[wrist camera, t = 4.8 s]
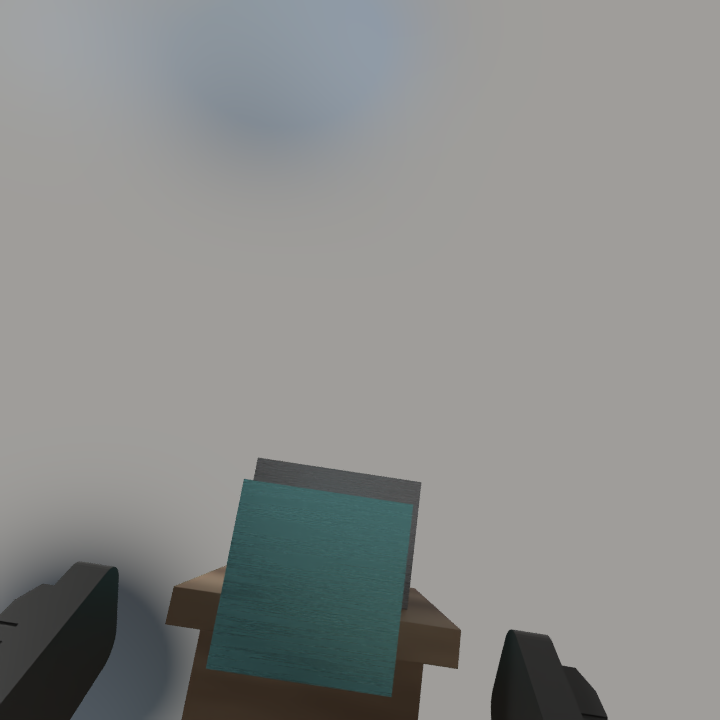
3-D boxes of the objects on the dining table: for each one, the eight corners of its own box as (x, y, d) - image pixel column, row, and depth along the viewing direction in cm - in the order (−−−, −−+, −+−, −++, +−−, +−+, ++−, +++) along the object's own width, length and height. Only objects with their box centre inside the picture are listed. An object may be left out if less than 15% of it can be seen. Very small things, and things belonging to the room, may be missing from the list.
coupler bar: (260, 566, 29) (278, 473, 31) (389, 586, 29) (400, 491, 31) (113, 654, 10) (177, 395, 12) (484, 711, 10) (502, 444, 12)
